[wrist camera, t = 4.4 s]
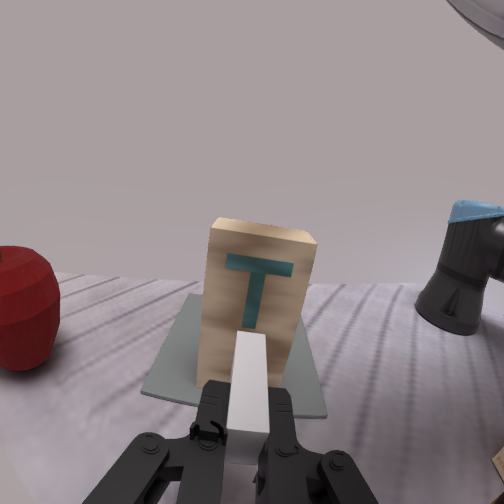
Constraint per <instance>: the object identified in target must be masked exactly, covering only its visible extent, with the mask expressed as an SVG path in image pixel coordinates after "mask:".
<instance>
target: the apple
mask: <svg viewBox="0 0 504 504" xmlns="http://www.w3.org/2000/svg"><path fill="white" fill-rule="evenodd" d="M59 324H60V290H59V285H58V282H57V279H56V277H55V275H54V272H53V270H52V267H51V265H50V263H49V262H48V261H47V260H46V259H45V258H44V257H42V256H41V255H40V254H38V253H37V252H35V251H34V250H33V249H29V248H25V247H19V246H0V366H1V367H3V368H5V369H8V370H11V371H26V370H29V369H32V368H34V367H36V366H38V365H40V364H41V363H42V362H44V361H45V360H46V359H47V358H48V357H49V355H50V353H51V350H52V347H53V344H54V340H55V337H56V334H57V330H58V327H59Z"/></svg>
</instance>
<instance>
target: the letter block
mask: <svg viewBox="0 0 504 504" xmlns="http://www.w3.org/2000/svg"><path fill="white" fill-rule="evenodd" d="M316 249H317V243H316V242H315V241H314V240H313V238H312V237H311V236H310V235H309V233H308V232H307V231H302V230H295V229H290V228H284V227H278V226H272V225H265V224H259V223H253V222H247V221H240V220H234V219H227V218H220V217H219V218H218V219H217V220H216V221H215V223H214V224H213V225H212V226H211V228H210V236H209V244H208V253H207V262H206V271H205V281H204V291H203V302H202V313H201V325H200V337H199V351H198V366H197V383H196V387H200V388H203V386H204V385H205V384H206V383H207V382H208V381H209V380H215V381H222V382H228V383H230V377H231V368H232V362H233V356H234V350H235V343H236V337H237V331H243V332H250V333H258V334H265V338H266V360H267V383H268V387H277V388H279V386H280V383H281V380H282V377H283V374H284V370H285V367H286V364H287V360H288V357H289V354H290V350H291V347H292V343H293V340H294V336H295V333H296V329H297V326H298V322H299V318H300V315H301V311H302V307H303V303H304V299H305V295H306V291H307V287H308V283H309V279H310V275H311V271H312V267H313V262H314V258H315V254H316Z"/></svg>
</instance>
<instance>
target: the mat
mask: <svg viewBox="0 0 504 504" xmlns="http://www.w3.org/2000/svg"><path fill="white" fill-rule="evenodd" d="M202 302H203V295H198V294H192V293H189V295H188V297H187V299H186V300H185V302H184V304H183V306H182V308H181V310H180V312H179V314H178V316H177V318H176V320H175V322H174V324H173V326H172V328H171V330H170V332H169V333H168V335H167V337H166V339H165V341H164V343H163V345H162V347H161V349H160V351H159V353H158V355H157V357H156V359H155V362H154V364H153V366H152V368H151V370H150V372H149V374H148V376H147V378H146V380H145V382H144V384H143V386H142V388H141V394H144V395H148V396H152V397H156V398H160V399H164V400H168V401H172V402H177V403H181V404H186V405H191V406H196V407H199V403H200V398H201V394H202V389H203V388H200V387H196V383H197V366H198V351H199V337H200V325H201V313H202ZM279 388H286V390H287V391H288V392H289V394H290V395H291V400H292V408H293V415H294V418H327V416H328V415H327V411H326V407H325V403H324V399H323V395H322V391H321V387H320V383H319V379H318V376H317V372H316V368H315V364H314V360H313V357H312V353H311V349H310V346H309V342H308V338H307V335H306V331H305V328H304V324H303V321H302V317H301V315H300V318H299V322H298V326H297V329H296V333H295V336H294V340H293V343H292V347H291V350H290V354H289V357H288V360H287V364H286V367H285V370H284V374H283V377H282V380H281V383H280V386H279Z"/></svg>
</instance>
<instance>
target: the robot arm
mask: <svg viewBox="0 0 504 504" xmlns="http://www.w3.org/2000/svg"><path fill="white" fill-rule="evenodd" d="M447 2H448V3H449V4H450V5H451V6H452V7H453V8H454V10H456V12H457V13H458V14H459V15H460V16H461V17H462V18H463V19H464V20H465V21H466V22H467V23H468V24H470V25H471V26H472V27H473V28H474V29H476V30H477V31H478V32H479V33H481V34H482V35H483V36H485V37H486V38H487V39H489V40H490V41H491V42H493V43H494V44H495V45H497V46H499V47H500V48H501V49H503V50H504V0H447ZM448 223H449V225H448V229H447V233H446V237H445V241H444V244H443V248H442V251H441V255H440V258H439V262H438V265H437V268H436V271H435V273H434V274H433V276H432V277H431V279H430V280H429V282H428V283H427V285H426V287H425V288H424V290H423V291H421V293H420V294H419V296H418V299H417V301H416V304H415V306H416V309H417V311H418V312H419V313H420V314H421V315H422V316H423V317H424V318H426V319H427V320H428V321H430V322H431V323H433V324H435V325H436V326H438V327H440V328H442V329H445V330H447V331H450V332H453V333H457V334H462V335H470V334H473V333H475V332H476V330H477V328H478V325H479V323H480V320H481V311H482V305H483V297H484V290H485V287H486V284H487V281H488V279H489V277H491V278H493V279H495V280H498V281H500V282H503V283H504V208H503V207H500V206H496V205H493V204H489V203H484V202H478V201H471V200H459V201H457V202H455V204H454V205H453V207H452V212H451V215H450V219H449V221H448ZM224 462H227V463H236V464H246V465H257V463H258V471H257V473H256V475H255V478H254V481H253V483H256V500H255V504H379V503H378V502H377V500H376V498H375V497H374V495H373V493H372V491H371V490H370V488H369V486H368V485H367V483H366V481H365V480H364V478H363V476H362V475H361V473H360V471H359V469H358V468H357V466H356V464H355V463H354V461H353V459H352V458H351V457H350V455H349V454H347V453H345V452H344V451H339V450H333V451H329V452H327V453H326V454H325V455H323V454H319V453H315V452H311V451H308V450H306V449H305V448H303V447H302V446H301V445H300V444H299V443H298V441H297V438H296V431H295V423H294V415H293V408H292V400H291V395H290V394H289V392H288V391H287V390H286V388H277V387H268V383H267V360H266V338H265V334H258V333H250V332H243V331H237V337H236V343H235V350H234V356H233V362H232V368H231V377H230V383H228V382H222V381H215V380H209V381H208V382H207V383H206V384H205V385H204V386H203V389H202V394H201V398H200V403H199V407H198V412H197V416H196V421H195V422H193V423H192V425H191V427H190V434H189V435H187V436H186V437H183V438H179V439H164V438H163V437H162V436H160V435H159V434H156V433H152V432H145V433H142V434H139V435H138V436H137V437H135V438H134V440H133V441H132V442H131V443H130V445H129V446H128V447H127V449H126V450H125V451H124V452H123V454H122V455H121V456H120V457H119V459H118V460H117V461H116V462H115V464H114V465H113V466H112V467H111V469H110V470H109V471H108V472H107V473H106V475H105V476H104V477H103V478H102V480H101V481H100V482H99V483H98V485H97V486H96V487H95V488H94V489H93V491H92V492H91V493H90V494H89V496H88V497H87V498H86V499H85V500H84V502H83V503H82V504H157V503H158V501H159V500H160V498H161V496H162V495H163V493H164V491H165V490H166V488H167V487H168V485H169V483H170V482H171V481H181V483H180V488H179V493H178V497H177V502H176V504H220V500H221V490H222V479H223V469H224Z"/></svg>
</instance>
